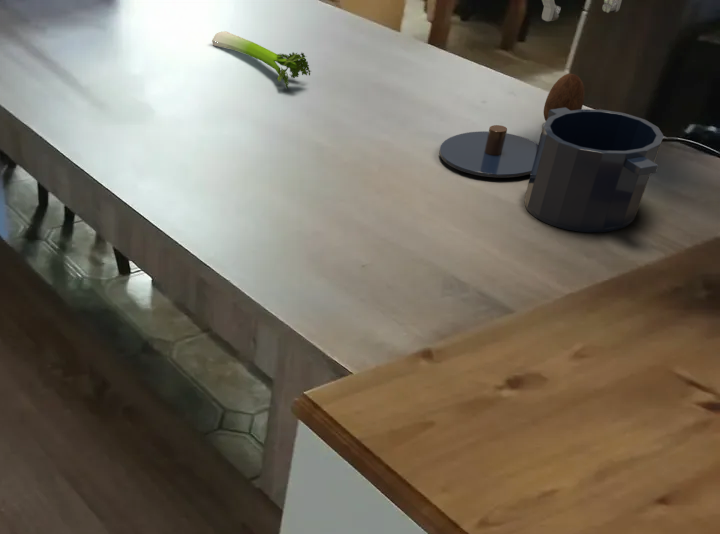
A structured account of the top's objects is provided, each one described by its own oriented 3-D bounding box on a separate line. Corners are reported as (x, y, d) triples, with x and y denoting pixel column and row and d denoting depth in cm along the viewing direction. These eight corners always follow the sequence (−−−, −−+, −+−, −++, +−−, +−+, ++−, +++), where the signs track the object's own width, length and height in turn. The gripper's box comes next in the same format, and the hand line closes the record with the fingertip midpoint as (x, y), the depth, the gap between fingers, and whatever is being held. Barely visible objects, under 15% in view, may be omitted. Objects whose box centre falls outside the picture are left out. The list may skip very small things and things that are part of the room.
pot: (582, 170, 130) (605, 96, 124) (672, 232, 116) (703, 152, 110) (494, 184, 129) (512, 110, 122) (574, 249, 115) (599, 169, 108)
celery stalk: (237, 50, 180) (320, 85, 157) (205, 61, 179) (285, 99, 156) (233, 17, 176) (318, 49, 154) (200, 28, 175) (281, 62, 152)
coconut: (532, 125, 143) (545, 73, 137) (554, 117, 145) (568, 65, 139) (560, 136, 139) (575, 83, 134) (583, 128, 141) (598, 74, 136)
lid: (510, 132, 141) (517, 102, 138) (566, 172, 130) (575, 141, 127) (420, 146, 139) (425, 116, 136) (470, 188, 128) (477, 156, 125)
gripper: (550, -83, 117) (524, 31, 126) (693, -101, 120) (658, 12, 129) (522, -93, 122) (500, 18, 131) (661, -110, 124) (629, 0, 133)
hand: (579, 15), depth 130 cm, fingers open, 8 cm apart
